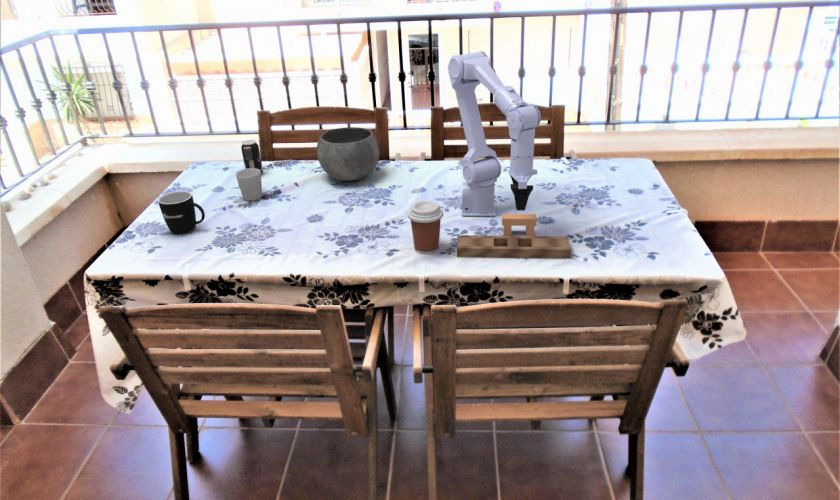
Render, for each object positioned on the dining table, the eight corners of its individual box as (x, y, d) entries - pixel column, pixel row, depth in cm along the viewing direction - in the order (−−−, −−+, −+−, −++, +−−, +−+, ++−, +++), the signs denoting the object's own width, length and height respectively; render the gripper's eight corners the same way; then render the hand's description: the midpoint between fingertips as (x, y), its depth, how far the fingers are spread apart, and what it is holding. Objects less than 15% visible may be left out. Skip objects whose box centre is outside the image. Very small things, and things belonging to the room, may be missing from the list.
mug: (160, 236, 167) (151, 203, 162) (176, 222, 175) (168, 190, 170) (200, 238, 166) (192, 204, 161) (215, 223, 173) (207, 191, 169)
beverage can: (258, 171, 210) (252, 138, 204) (266, 175, 206) (260, 141, 200) (243, 175, 207) (237, 142, 201) (251, 179, 203) (245, 145, 197)
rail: (456, 256, 151) (456, 248, 149) (457, 243, 157) (457, 235, 155) (570, 258, 148) (570, 249, 146) (566, 245, 154) (567, 236, 153)
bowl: (307, 182, 199) (301, 138, 192) (347, 162, 214) (343, 121, 207) (353, 194, 189) (349, 148, 181) (393, 173, 203) (390, 130, 196)
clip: (501, 235, 160) (502, 218, 157) (501, 230, 162) (501, 213, 160) (535, 236, 159) (536, 219, 157) (535, 230, 162) (536, 214, 159)
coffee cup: (441, 257, 151) (440, 214, 145) (406, 255, 152) (403, 213, 146) (446, 240, 158) (445, 199, 153) (412, 239, 160) (410, 198, 154)
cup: (236, 202, 186) (231, 177, 182) (248, 190, 195) (243, 165, 191) (260, 202, 185) (255, 177, 181) (270, 190, 194) (266, 165, 190)
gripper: (540, 164, 143) (537, 215, 150) (536, 144, 156) (533, 192, 162) (510, 164, 144) (509, 215, 151) (508, 145, 157) (507, 192, 163)
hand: (519, 203), depth 157 cm, fingers open, 7 cm apart
